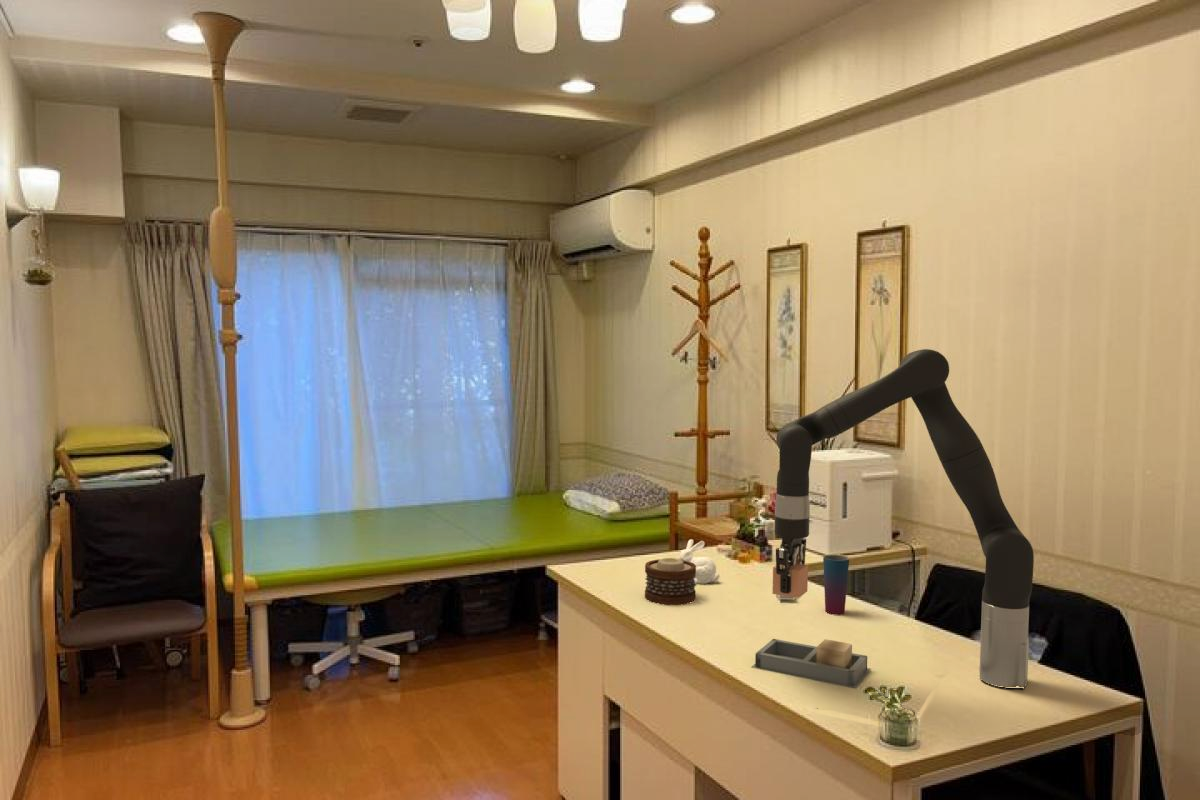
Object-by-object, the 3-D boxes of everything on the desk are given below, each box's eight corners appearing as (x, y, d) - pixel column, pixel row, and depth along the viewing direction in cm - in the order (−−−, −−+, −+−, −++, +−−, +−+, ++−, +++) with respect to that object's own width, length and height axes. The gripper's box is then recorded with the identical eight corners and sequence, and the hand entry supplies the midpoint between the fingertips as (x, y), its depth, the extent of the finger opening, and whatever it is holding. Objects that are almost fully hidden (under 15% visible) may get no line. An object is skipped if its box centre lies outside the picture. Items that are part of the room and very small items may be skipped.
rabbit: (677, 582, 271) (677, 543, 270) (685, 575, 280) (685, 537, 279) (716, 586, 267) (717, 546, 266) (723, 578, 275) (724, 540, 275)
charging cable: (786, 576, 282) (786, 566, 282) (796, 602, 250) (796, 590, 250) (770, 576, 283) (770, 565, 283) (777, 601, 251) (777, 589, 251)
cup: (830, 616, 238) (831, 561, 237) (817, 609, 245) (818, 555, 244) (852, 615, 240) (854, 559, 239) (839, 607, 246) (840, 553, 245)
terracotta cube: (807, 591, 201) (808, 565, 200) (798, 597, 196) (799, 570, 195) (781, 587, 204) (782, 561, 203) (772, 593, 199) (773, 567, 198)
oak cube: (851, 670, 197) (852, 643, 196) (843, 679, 191) (844, 652, 191) (824, 665, 200) (825, 639, 199) (816, 674, 195) (816, 647, 194)
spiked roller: (670, 551, 265) (707, 561, 254) (669, 587, 266) (707, 598, 254) (633, 559, 255) (671, 569, 244) (633, 596, 256) (670, 608, 245)
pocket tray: (871, 673, 198) (871, 655, 198) (855, 692, 187) (855, 674, 187) (771, 654, 210) (771, 637, 209) (750, 671, 198) (751, 653, 198)
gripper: (798, 521, 190) (796, 599, 192) (818, 511, 203) (816, 584, 204) (764, 518, 194) (762, 594, 195) (786, 507, 207) (784, 579, 208)
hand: (790, 588), depth 200 cm, fingers closed on terracotta cube, 6 cm apart
